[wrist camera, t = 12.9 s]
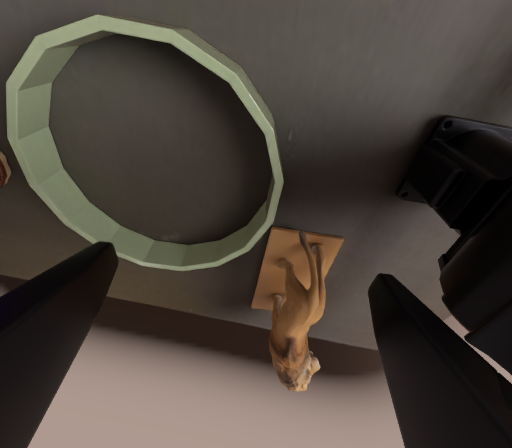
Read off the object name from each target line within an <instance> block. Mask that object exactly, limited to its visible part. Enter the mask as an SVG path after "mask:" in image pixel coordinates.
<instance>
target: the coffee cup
mask: <svg viewBox="0 0 512 448" xmlns="http://www.w3.org/2000/svg"><path fill="white" fill-rule="evenodd" d="M6 160H7V159H6V157H5V156H4V155H3V153H2V152H1V150H0V187H2V186H4V185H5V184H6V183H7V182H8V179H9V177H10V175H11V170H10V167H9V166H8V164H7V161H6Z"/></svg>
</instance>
